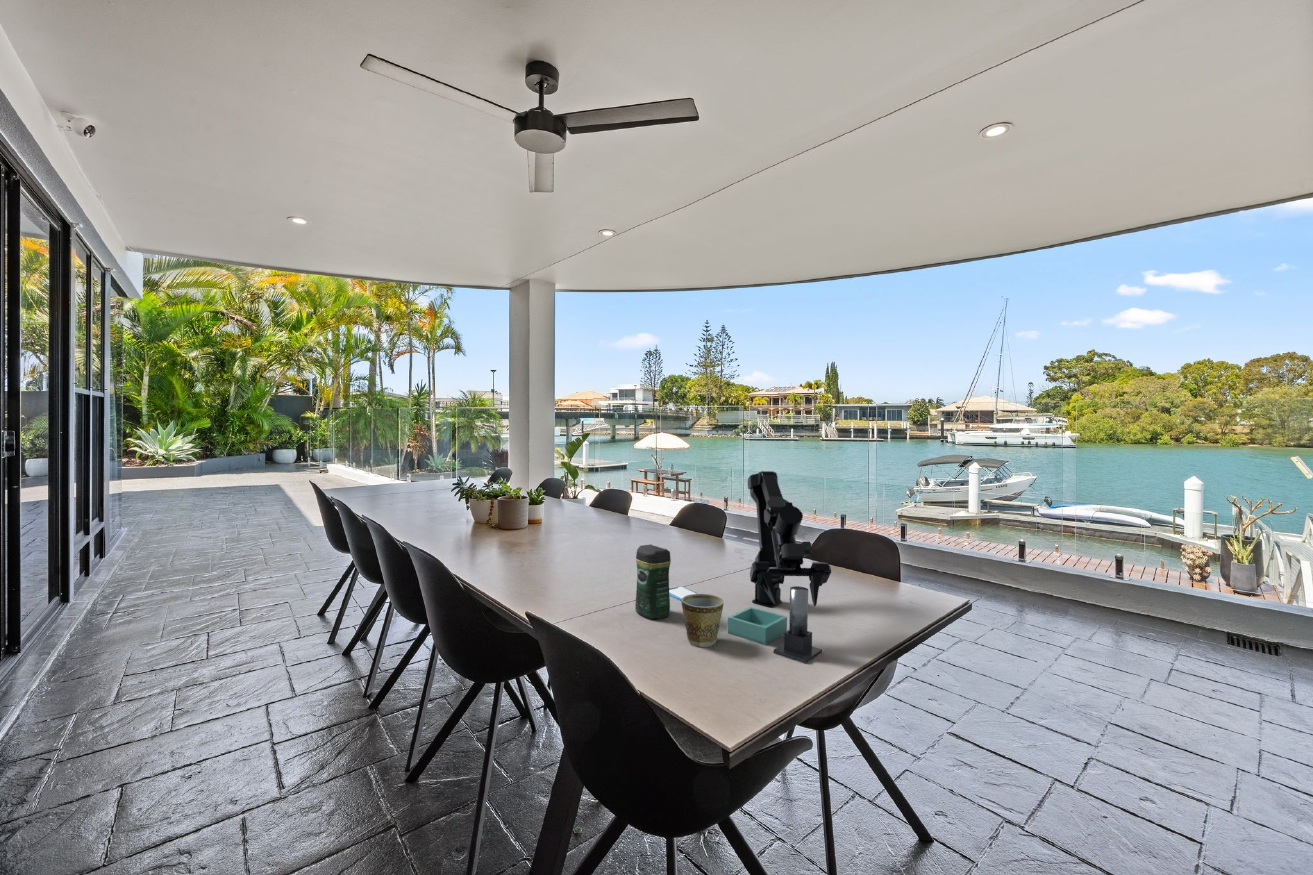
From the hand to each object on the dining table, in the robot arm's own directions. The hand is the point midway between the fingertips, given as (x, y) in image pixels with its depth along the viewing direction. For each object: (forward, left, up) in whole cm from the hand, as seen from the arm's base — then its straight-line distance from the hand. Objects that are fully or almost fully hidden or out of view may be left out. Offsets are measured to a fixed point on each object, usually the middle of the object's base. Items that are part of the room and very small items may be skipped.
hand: (795, 604), depth 126 cm
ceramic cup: (-19, -11, -10) cm, 24 cm away
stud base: (+2, -2, -10) cm, 10 cm away
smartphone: (-41, +12, -11) cm, 44 cm away
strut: (+2, -2, -9) cm, 10 cm away
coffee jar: (-39, -6, -10) cm, 41 cm away
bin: (-11, +2, -10) cm, 15 cm away
